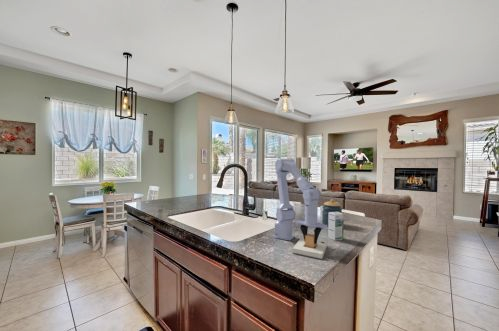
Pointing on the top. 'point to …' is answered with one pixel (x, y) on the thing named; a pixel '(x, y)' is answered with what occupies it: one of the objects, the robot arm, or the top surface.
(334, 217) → the syrup box
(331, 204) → the canister
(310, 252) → the white cutout panel
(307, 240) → the plug
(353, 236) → the top surface
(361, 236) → the top surface
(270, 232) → the top surface
